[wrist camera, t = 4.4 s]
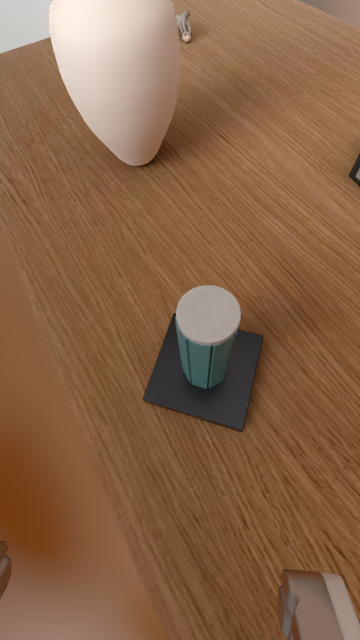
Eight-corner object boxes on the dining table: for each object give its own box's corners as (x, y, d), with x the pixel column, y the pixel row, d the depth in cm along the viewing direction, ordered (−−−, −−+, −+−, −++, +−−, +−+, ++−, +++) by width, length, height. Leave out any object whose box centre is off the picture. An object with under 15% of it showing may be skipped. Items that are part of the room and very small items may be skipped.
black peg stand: (241, 432, 30) (252, 421, 23) (144, 401, 32) (130, 383, 25) (261, 340, 34) (276, 309, 27) (174, 317, 36) (169, 283, 29)
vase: (181, 190, 45) (158, -172, 19) (84, 190, 46) (-56, -152, 21) (187, 128, 51) (175, -207, 26) (102, 129, 52) (11, -190, 27)
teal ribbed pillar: (220, 393, 30) (232, 350, 20) (178, 380, 31) (167, 332, 20) (231, 352, 32) (247, 292, 21) (190, 341, 33) (186, 278, 22)
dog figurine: (190, 48, 67) (183, 14, 64) (200, 31, 59) (194, -8, 57) (176, 51, 66) (169, 18, 64) (184, 34, 59) (177, -4, 57)
